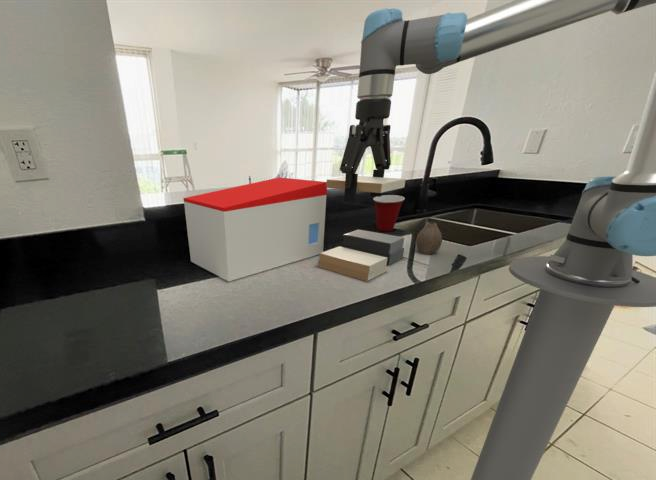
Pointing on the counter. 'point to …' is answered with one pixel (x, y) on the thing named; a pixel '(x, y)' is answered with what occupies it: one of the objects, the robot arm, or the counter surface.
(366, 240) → the grey books
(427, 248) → the vase
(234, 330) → the counter surface
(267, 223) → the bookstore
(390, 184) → the beige flat rectangular block
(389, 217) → the plastic cup
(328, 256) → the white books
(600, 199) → the robot arm
